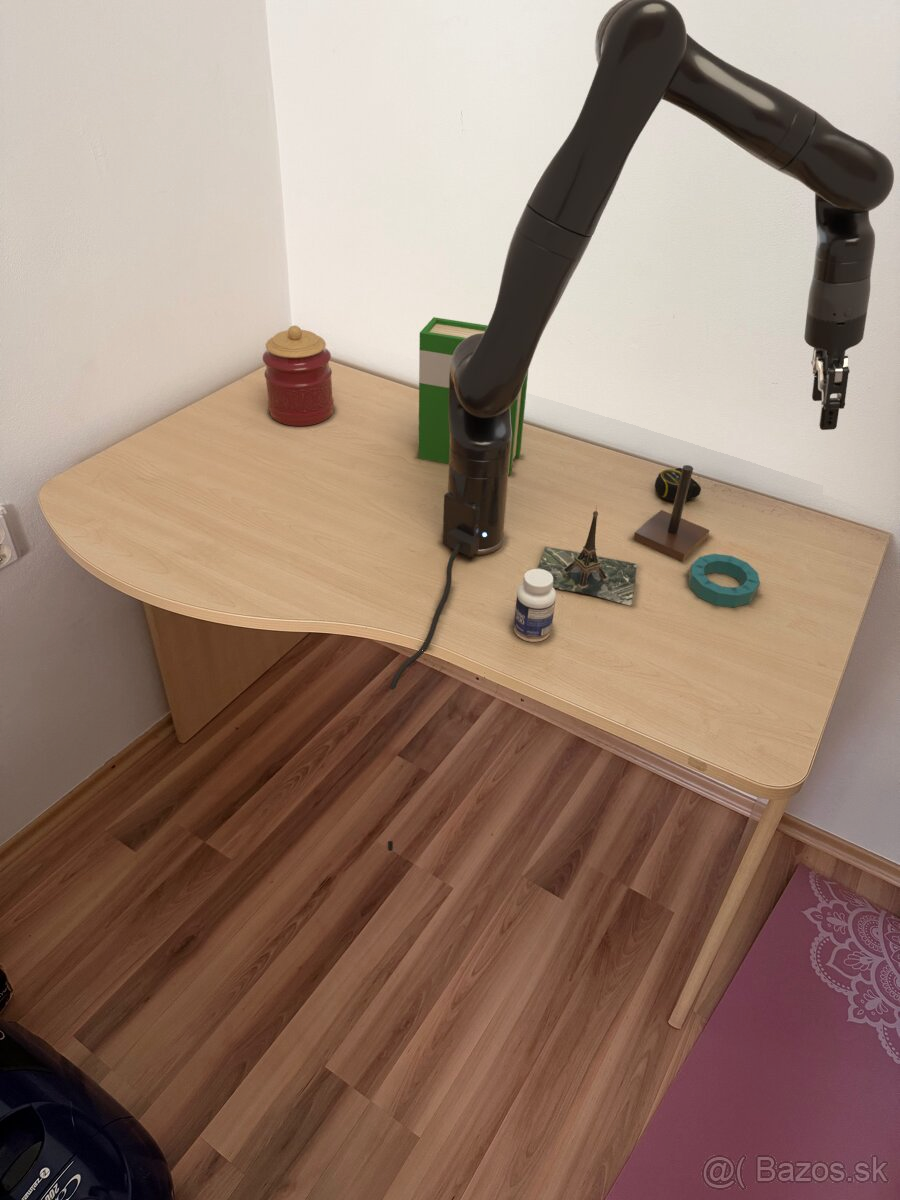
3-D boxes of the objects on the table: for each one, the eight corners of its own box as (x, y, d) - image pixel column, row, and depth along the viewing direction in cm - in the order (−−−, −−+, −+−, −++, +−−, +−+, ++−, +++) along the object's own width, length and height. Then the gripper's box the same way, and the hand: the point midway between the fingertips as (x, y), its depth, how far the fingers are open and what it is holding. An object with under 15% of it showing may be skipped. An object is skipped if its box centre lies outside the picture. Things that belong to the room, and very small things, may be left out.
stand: (682, 561, 134) (701, 489, 125) (633, 539, 138) (648, 468, 129) (707, 537, 139) (727, 466, 130) (659, 516, 143) (675, 447, 135)
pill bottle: (510, 618, 122) (516, 565, 115) (547, 617, 122) (554, 564, 116) (516, 644, 117) (522, 590, 111) (553, 642, 118) (561, 589, 112)
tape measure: (699, 502, 147) (704, 484, 145) (665, 508, 145) (669, 489, 143) (680, 482, 152) (684, 464, 150) (646, 487, 150) (650, 469, 148)
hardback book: (520, 456, 157) (532, 332, 142) (510, 475, 152) (521, 348, 137) (431, 439, 161) (433, 317, 146) (418, 458, 156) (419, 332, 140)
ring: (737, 616, 124) (742, 603, 122) (677, 587, 128) (680, 575, 127) (765, 584, 130) (769, 572, 128) (706, 558, 134) (710, 546, 133)
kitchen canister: (305, 434, 161) (297, 346, 150) (255, 415, 167) (244, 328, 155) (347, 408, 170) (343, 323, 159) (298, 391, 175) (291, 308, 164)
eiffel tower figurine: (638, 566, 132) (654, 494, 124) (631, 605, 125) (647, 532, 116) (545, 548, 135) (554, 477, 127) (532, 586, 128) (541, 513, 119)
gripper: (801, 289, 120) (791, 392, 130) (814, 331, 109) (802, 440, 120) (858, 284, 118) (843, 389, 128) (877, 326, 107) (859, 437, 118)
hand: (823, 413), depth 124 cm, fingers open, 8 cm apart
